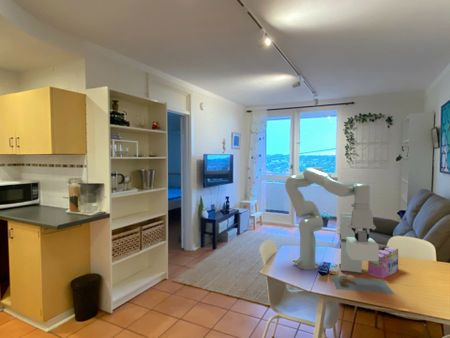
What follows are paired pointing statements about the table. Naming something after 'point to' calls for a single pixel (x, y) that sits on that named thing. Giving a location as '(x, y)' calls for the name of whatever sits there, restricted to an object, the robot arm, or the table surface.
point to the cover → (362, 248)
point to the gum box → (384, 263)
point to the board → (364, 285)
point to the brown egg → (351, 278)
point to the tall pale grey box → (345, 231)
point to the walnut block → (344, 281)
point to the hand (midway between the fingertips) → (361, 239)
